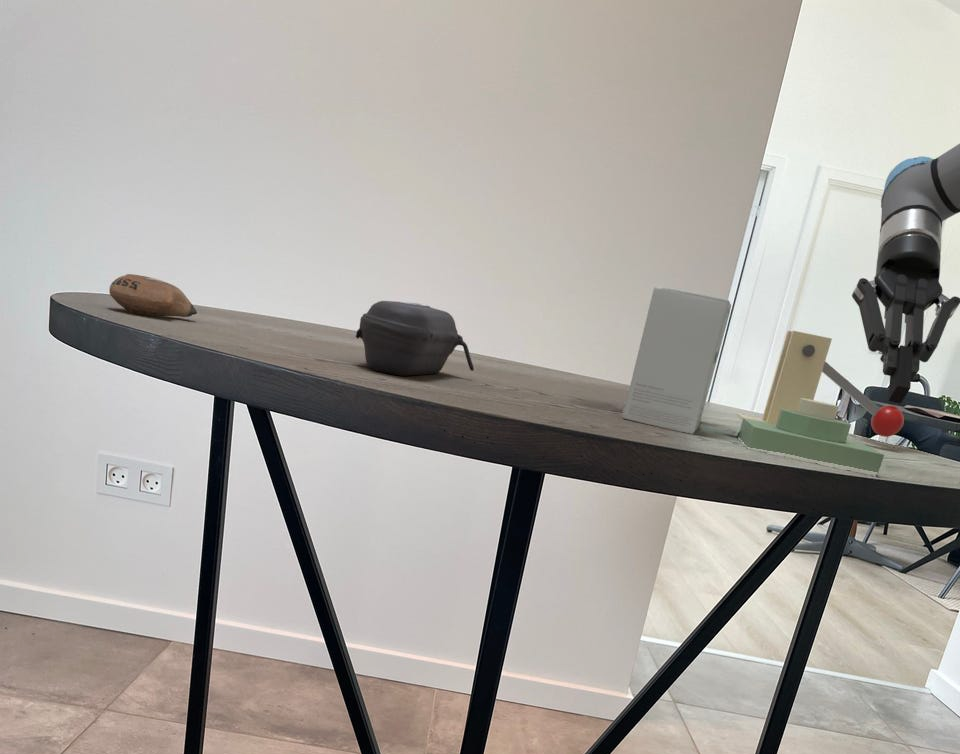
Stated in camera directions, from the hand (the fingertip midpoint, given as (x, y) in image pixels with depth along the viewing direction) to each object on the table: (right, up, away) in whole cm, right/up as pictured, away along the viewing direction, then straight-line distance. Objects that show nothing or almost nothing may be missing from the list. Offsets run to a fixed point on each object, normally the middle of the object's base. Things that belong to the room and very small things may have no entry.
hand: (899, 394), depth 113 cm
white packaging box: (-31, -8, -17) cm, 36 cm away
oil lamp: (-84, +5, -11) cm, 85 cm away
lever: (-7, 0, 0) cm, 7 cm away
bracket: (-13, -4, +3) cm, 14 cm away
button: (-17, -8, -21) cm, 28 cm away
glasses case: (-57, -2, -15) cm, 59 cm away
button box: (-18, -11, -20) cm, 29 cm away
